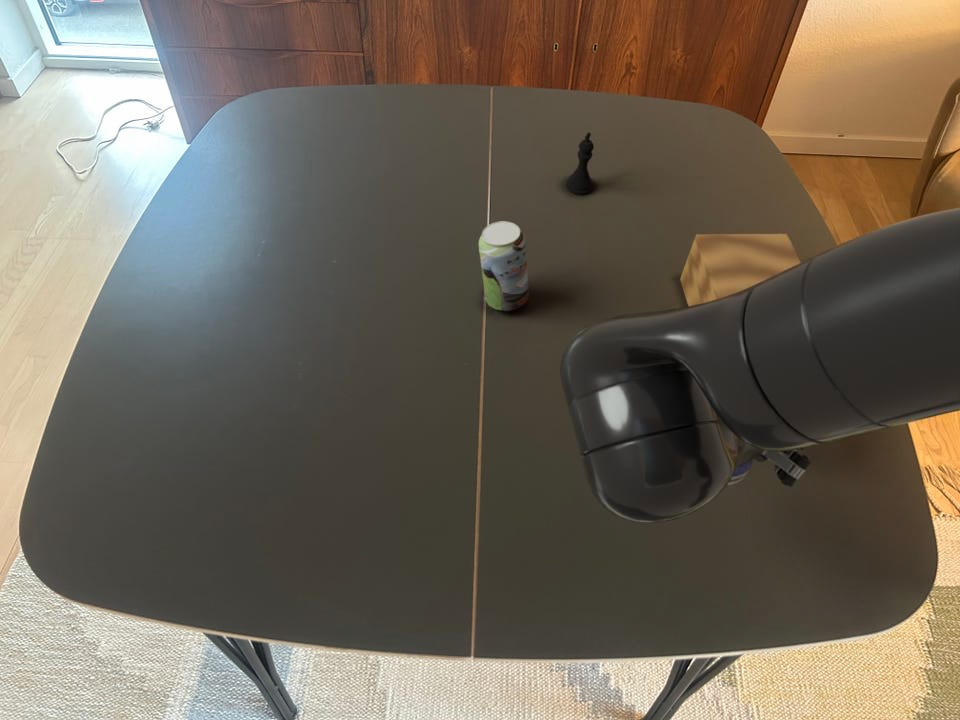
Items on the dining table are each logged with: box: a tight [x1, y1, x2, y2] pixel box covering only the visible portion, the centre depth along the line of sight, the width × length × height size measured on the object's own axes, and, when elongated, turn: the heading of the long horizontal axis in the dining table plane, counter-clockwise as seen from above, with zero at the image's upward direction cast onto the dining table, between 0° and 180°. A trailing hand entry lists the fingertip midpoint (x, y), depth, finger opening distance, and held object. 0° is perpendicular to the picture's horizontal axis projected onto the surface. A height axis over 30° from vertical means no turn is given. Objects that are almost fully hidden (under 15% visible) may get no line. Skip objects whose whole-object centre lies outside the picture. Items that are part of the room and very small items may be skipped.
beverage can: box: [478, 220, 530, 312], centre depth 94 cm, size 6×7×12 cm
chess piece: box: [565, 131, 595, 196], centre depth 111 cm, size 4×4×10 cm
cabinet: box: [679, 233, 802, 307], centre depth 95 cm, size 16×13×9 cm
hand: (746, 421), depth 65 cm, fingers closed on pill bottle, 5 cm apart
